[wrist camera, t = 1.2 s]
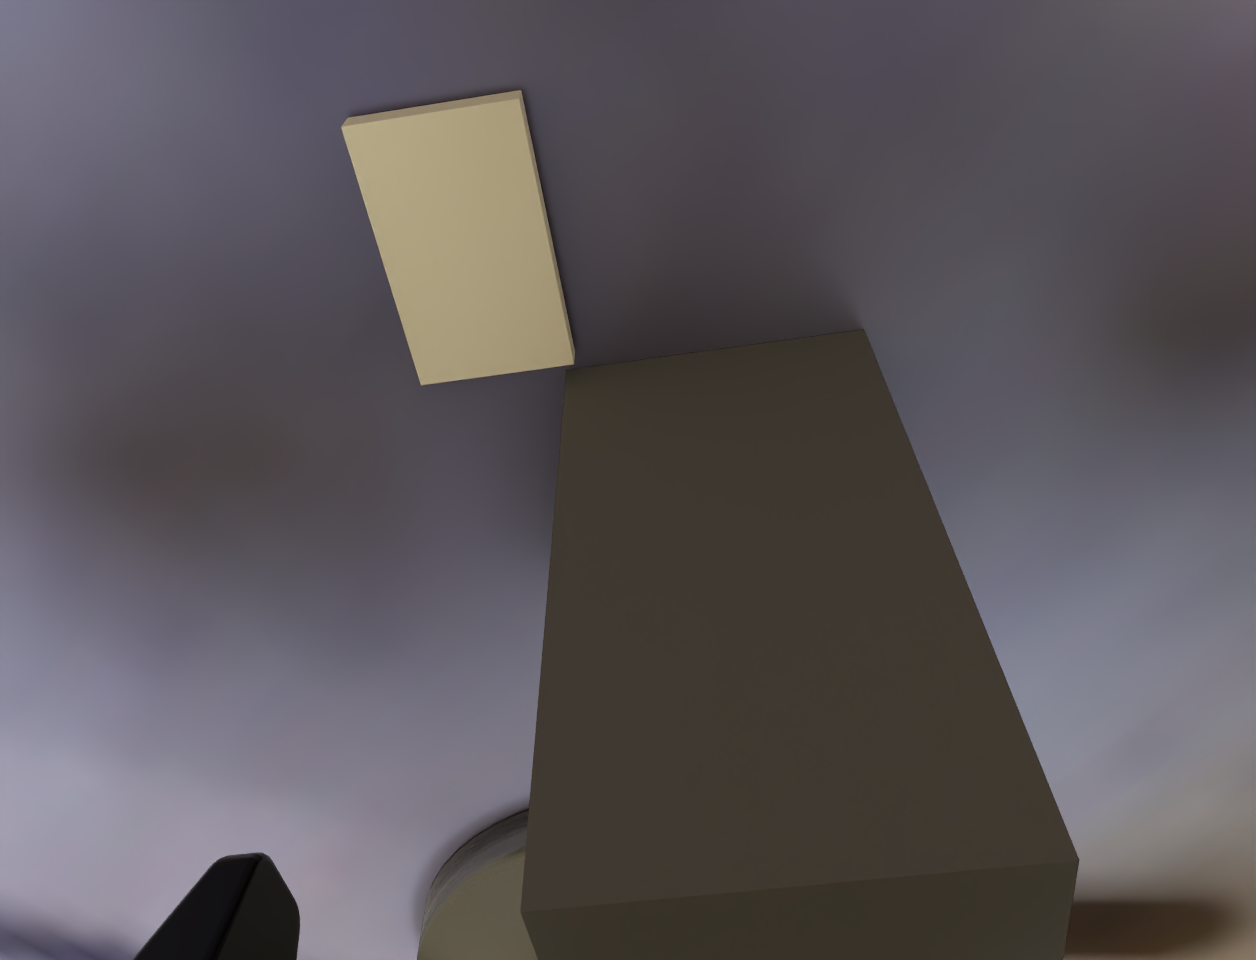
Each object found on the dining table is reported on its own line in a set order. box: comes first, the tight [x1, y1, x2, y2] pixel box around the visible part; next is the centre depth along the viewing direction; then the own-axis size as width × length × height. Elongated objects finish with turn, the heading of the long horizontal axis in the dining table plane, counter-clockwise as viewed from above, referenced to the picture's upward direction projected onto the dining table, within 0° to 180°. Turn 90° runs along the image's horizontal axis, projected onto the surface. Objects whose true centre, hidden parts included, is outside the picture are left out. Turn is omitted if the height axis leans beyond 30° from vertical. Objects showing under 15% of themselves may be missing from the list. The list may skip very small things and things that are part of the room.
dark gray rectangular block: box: [520, 329, 1079, 960], centre depth 10 cm, size 4×4×7 cm
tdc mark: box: [341, 90, 575, 385], centre depth 11 cm, size 3×2×1 cm, turn 9°
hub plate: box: [417, 810, 538, 960], centre depth 19 cm, size 8×8×1 cm
